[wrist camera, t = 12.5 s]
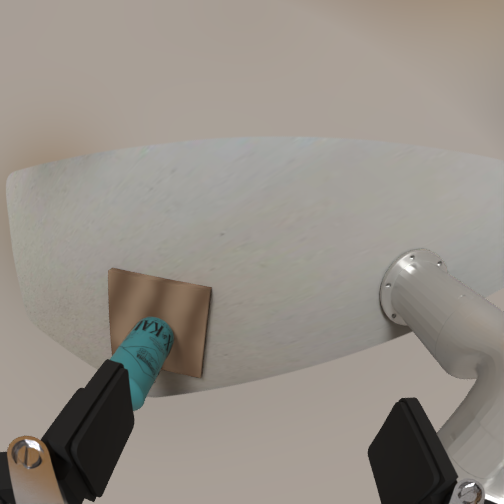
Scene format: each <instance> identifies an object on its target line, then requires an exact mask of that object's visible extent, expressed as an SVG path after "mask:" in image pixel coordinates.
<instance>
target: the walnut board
mask: <svg viewBox="0 0 504 504" xmlns="http://www.w3.org/2000/svg"><path fill="white" fill-rule="evenodd" d="M211 288H212V287H206V286H201V285H195V284H190V283H185V282H180V281H174V280H169V279H164V278H159V277H154V276H149V275H144V274H139V273H135V272H130V271H125V270H120V269H116V268H111V269H110V270H109V271H108V295H109V320H110V336H111V348H112V356H113V354H114V353H115V352H116V350H117V349H118V346H120V345H121V343H122V342H123V341H124V340H125V338H126V337H127V336H128V335H129V333H130V332H131V331H132V330H133V329H132V328H134V327H133V326H134V325H135V326H136V325H137V323H138V322H139V321H140V319H141V320H142V318H143V319H144V318H146V317H156V318H159V319H161V320H163V321H165V322H166V323H167V324H168V325H169V326H170V328H171V329H172V331H173V335H174V342H173V345H172V348H171V350H170V351H171V352H170V354H169V353H168V354H169V355H167V356H168V357H166V359H165V361H164V363H165V364H164V363H163V365H162V370H166V371H170V372H175V373H179V374H184V375H188V376H193V377H198V378H200V377H201V374H202V367H203V357H204V348H205V339H206V330H207V321H208V313H209V304H210V296H211ZM130 330H131V331H130ZM129 331H130V332H129ZM123 339H124V340H123Z"/></svg>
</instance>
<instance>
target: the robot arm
mask: <svg viewBox="0 0 504 504" xmlns="http://www.w3.org/2000/svg"><path fill="white" fill-rule="evenodd" d="M387 283H388V284H387ZM386 284H387V285H386ZM380 301H381V306H382V308H383V310H384V312H385V314H386V315H387V316H388V317H389V319H390V320H392V321H393V322H395V323H396V324H399V325H405V326H409V327H410V328H411V329H412V331H413V332H414V333H415V334H416V336H417V337H418V338H419V339H420V340H421V342H422V343H423V344H424V345H425V346H426V348H427V349H428V350H429V352H430V353H431V354H432V355H433V357H434V358H435V359H436V360H437V362H438V363H439V364H440V365H441V367H442V368H443V369H444V370H445V371H446V372H447V373H448V374H450V375H451V376H454V377H456V378H459V379H477V380H476V382H475V384H474V385H473V387H472V388H471V390H470V391H469V393H468V394H467V396H466V398H465V399H464V400H463V401H462V403H461V404H460V405H459V407H458V408H457V409H456V410H455V412H454V413H453V414H452V415H451V417H450V418H449V419H448V420H447V421H446V423H445V424H444V425H443V426H442V428H440V430H439V431H438V432H437V433H436V432H435V430H434V428H433V426H432V424H431V422H430V421H429V419H428V417H427V415H426V413H425V412H424V410H423V408H422V406H421V404H420V403H419V401H418V399H417V398H401V399H400V400H399V402H397V403H395V405H394V406H393V408H392V410H391V412H390V414H389V415H388V417H387V419H386V421H385V422H384V424H383V426H382V428H381V429H380V431H379V432H378V434H377V435H376V437H375V439H374V440H373V442H372V444H371V445H370V446H369V449H368V457H369V461H370V464H371V468H372V471H373V475H374V478H375V482H376V485H377V489H378V493H379V496H380V500H381V504H504V311H503V310H501V309H500V308H498V307H496V306H495V305H494V304H493V303H491V302H490V301H488V300H487V299H485V298H484V297H483V296H481V295H480V294H478V293H477V292H475V291H474V290H472V289H471V288H469V287H468V286H467V285H465V284H464V283H462V282H461V281H459V280H458V279H456V278H455V277H453V276H451V275H450V274H448V270H447V267H446V265H445V263H444V261H443V260H442V259H441V257H440V256H438V255H437V254H435V253H434V252H432V251H430V250H425V249H416V250H412V251H409V252H407V253H405V254H403V255H402V256H400V257H399V258H398V259H397V260H395V261H394V262H393V263H392V265H391V266H390V267H389V269H388V270H387V272H386V274H385V276H384V278H383V281H382V284H381V289H380ZM133 426H134V414H133V407H132V399H131V391H130V382H129V372H128V369H125V368H124V365H123V364H122V363H119V362H115V361H112V360H109V359H107V360H106V361H105V362H104V363H103V364H102V365H101V367H100V368H99V369H98V371H97V372H96V373H95V375H94V376H93V377H92V379H91V380H90V381H89V383H88V384H87V385H86V387H85V388H80V389H78V390H77V391H76V393H75V394H74V395H73V396H72V398H71V399H70V400H69V402H68V403H67V404H66V406H65V407H64V408H63V410H62V411H61V413H60V414H59V415H58V417H57V418H56V419H55V421H54V422H53V423H52V425H51V426H50V428H49V429H48V430H47V432H46V433H45V435H44V436H43V437H42V439H41V440H39V439H38V438H35V437H32V436H21V437H18V438H16V439H14V440H13V441H12V442H11V443H10V444H9V447H8V449H7V452H0V504H82V502H83V500H84V498H85V499H88V500H90V501H92V502H94V501H95V499H96V497H101V496H102V494H103V493H104V490H105V488H106V486H107V484H108V481H109V479H110V477H111V475H112V473H113V470H114V468H115V466H116V464H117V461H118V459H119V457H120V455H121V453H122V451H123V449H124V446H125V444H126V442H127V440H128V438H129V436H130V434H131V432H132V429H133Z"/></svg>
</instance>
